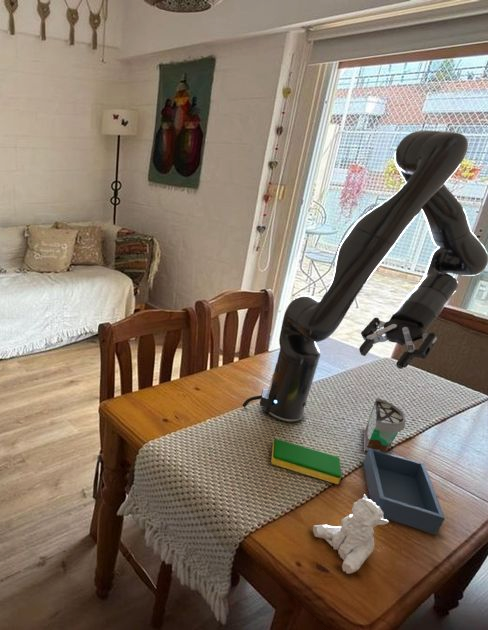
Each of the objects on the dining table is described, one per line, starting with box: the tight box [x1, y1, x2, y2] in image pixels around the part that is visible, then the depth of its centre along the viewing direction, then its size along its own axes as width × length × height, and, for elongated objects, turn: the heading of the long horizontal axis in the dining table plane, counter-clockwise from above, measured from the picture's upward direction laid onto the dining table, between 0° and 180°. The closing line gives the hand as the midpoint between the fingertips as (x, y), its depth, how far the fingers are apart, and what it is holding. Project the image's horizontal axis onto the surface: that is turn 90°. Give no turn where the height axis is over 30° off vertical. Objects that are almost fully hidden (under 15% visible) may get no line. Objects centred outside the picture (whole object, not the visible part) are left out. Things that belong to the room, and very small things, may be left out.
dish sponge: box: [270, 438, 342, 485], centre depth 102 cm, size 7×14×2 cm, turn 64°
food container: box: [363, 397, 406, 454], centre depth 107 cm, size 12×6×10 cm, turn 148°
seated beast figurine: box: [312, 493, 390, 575], centre depth 80 cm, size 10×9×12 cm
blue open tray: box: [362, 448, 446, 536], centre depth 93 cm, size 11×17×4 cm, turn 154°
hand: (379, 360), depth 106 cm, fingers open, 8 cm apart
